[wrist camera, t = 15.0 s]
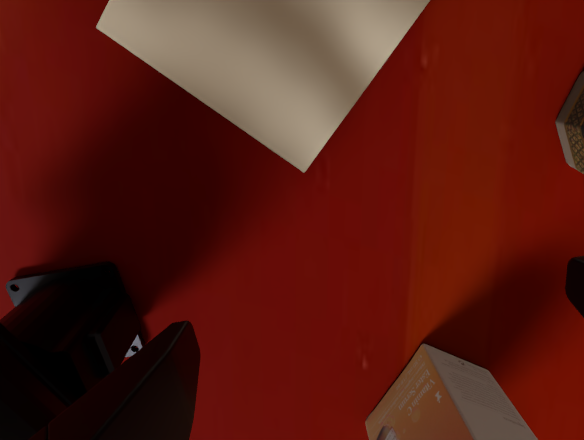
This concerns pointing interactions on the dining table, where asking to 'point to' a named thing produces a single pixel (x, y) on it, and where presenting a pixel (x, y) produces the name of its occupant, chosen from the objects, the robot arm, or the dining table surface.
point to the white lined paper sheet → (267, 58)
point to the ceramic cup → (573, 126)
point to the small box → (445, 403)
